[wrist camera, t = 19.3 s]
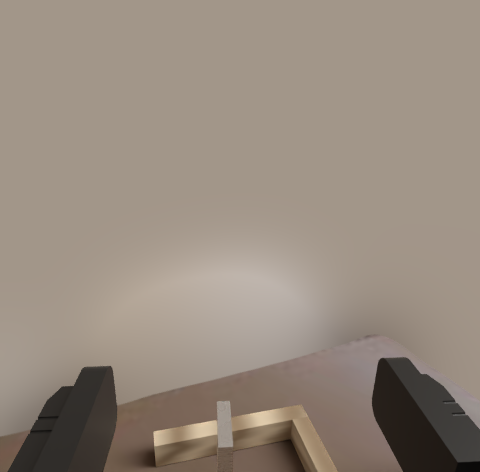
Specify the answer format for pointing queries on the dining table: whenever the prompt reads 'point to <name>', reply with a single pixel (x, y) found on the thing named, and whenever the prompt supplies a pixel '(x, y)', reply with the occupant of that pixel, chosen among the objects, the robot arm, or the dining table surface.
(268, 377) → the dining table surface
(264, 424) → the wooden l-shaped corner
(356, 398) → the dining table surface
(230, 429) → the bracket
